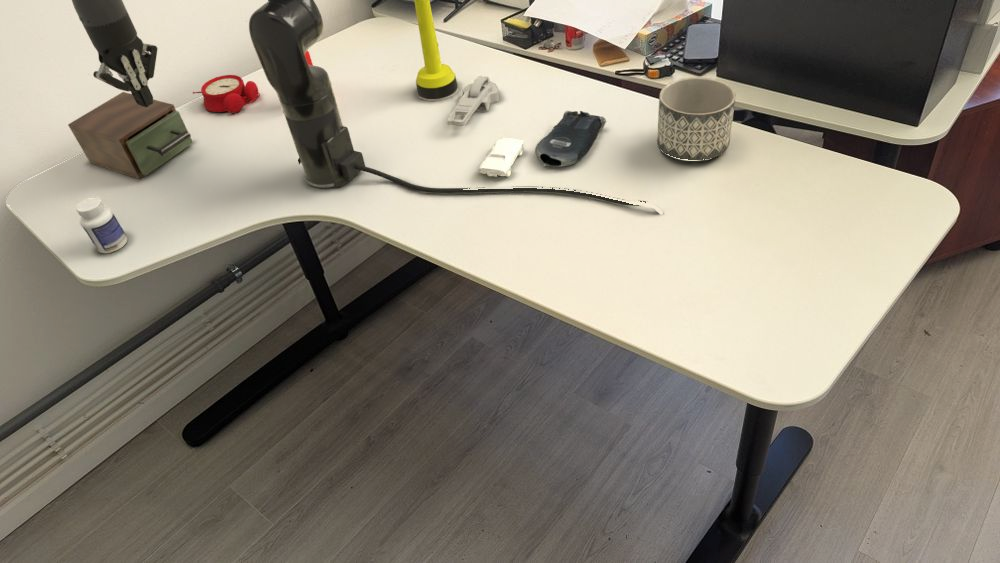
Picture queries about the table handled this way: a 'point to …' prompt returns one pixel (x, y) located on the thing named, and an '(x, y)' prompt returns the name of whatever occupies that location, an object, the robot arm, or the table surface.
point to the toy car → (502, 157)
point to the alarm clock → (228, 93)
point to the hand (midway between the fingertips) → (147, 104)
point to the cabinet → (115, 131)
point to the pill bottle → (101, 225)
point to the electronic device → (569, 139)
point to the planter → (695, 118)
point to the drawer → (158, 142)
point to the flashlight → (432, 60)
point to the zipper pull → (474, 100)
